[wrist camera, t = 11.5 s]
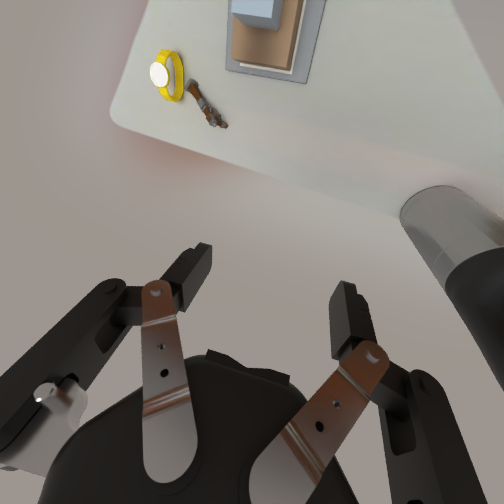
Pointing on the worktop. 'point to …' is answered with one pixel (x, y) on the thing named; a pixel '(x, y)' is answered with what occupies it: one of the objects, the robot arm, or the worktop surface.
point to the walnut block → (268, 40)
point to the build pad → (302, 51)
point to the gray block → (258, 13)
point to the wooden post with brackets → (204, 105)
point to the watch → (167, 75)
